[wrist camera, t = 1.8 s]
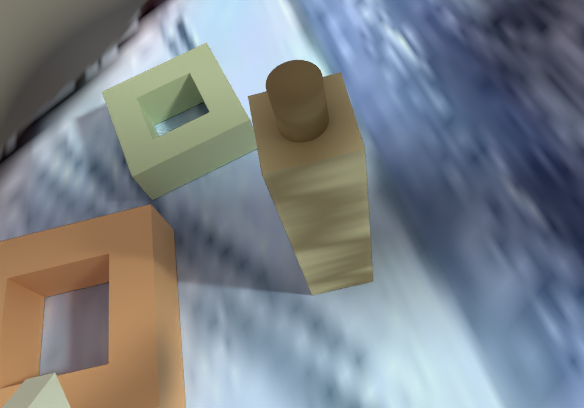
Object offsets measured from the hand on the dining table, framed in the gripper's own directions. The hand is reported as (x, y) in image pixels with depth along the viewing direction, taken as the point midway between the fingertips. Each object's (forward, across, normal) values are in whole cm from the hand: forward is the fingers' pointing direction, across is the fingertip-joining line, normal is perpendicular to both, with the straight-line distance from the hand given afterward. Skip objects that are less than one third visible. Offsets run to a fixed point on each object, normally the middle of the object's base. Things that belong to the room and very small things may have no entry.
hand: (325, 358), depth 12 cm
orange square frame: (+15, -14, -5) cm, 21 cm away
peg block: (+16, +1, -4) cm, 16 cm away
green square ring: (+24, -7, +4) cm, 26 cm away
